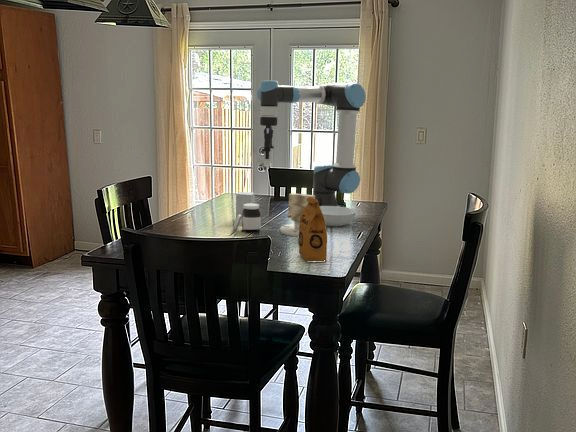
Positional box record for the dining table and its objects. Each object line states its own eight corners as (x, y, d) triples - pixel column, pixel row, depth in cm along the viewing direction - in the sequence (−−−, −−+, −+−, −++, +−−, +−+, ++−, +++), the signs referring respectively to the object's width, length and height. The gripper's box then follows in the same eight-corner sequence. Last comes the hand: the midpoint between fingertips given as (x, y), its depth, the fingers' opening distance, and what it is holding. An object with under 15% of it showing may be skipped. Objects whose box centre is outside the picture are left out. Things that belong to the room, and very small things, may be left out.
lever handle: (316, 219, 250) (317, 194, 248) (309, 223, 242) (310, 197, 240) (291, 216, 255) (292, 192, 252) (284, 220, 246) (284, 195, 244)
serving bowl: (324, 231, 251) (325, 216, 250) (301, 221, 269) (302, 207, 268) (363, 227, 261) (364, 212, 259) (339, 218, 279) (339, 204, 278)
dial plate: (327, 229, 254) (327, 218, 253) (313, 238, 238) (314, 226, 237) (289, 225, 261) (289, 214, 260) (273, 233, 244) (274, 222, 243)
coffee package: (301, 263, 202) (303, 202, 197) (296, 254, 214) (297, 196, 209) (329, 263, 203) (331, 202, 199) (322, 253, 215) (324, 196, 211)
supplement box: (250, 221, 267) (250, 194, 264) (235, 220, 268) (235, 193, 266) (254, 218, 274) (255, 192, 272) (239, 217, 276) (240, 191, 273)
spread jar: (262, 233, 245) (262, 206, 242) (236, 234, 242) (236, 207, 239) (255, 227, 256) (256, 201, 254) (230, 228, 253) (231, 202, 250)
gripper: (262, 115, 263) (261, 161, 268) (258, 117, 239) (257, 167, 243) (278, 115, 263) (277, 161, 268) (276, 117, 239) (275, 168, 243)
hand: (267, 164), depth 255 cm, fingers open, 13 cm apart
